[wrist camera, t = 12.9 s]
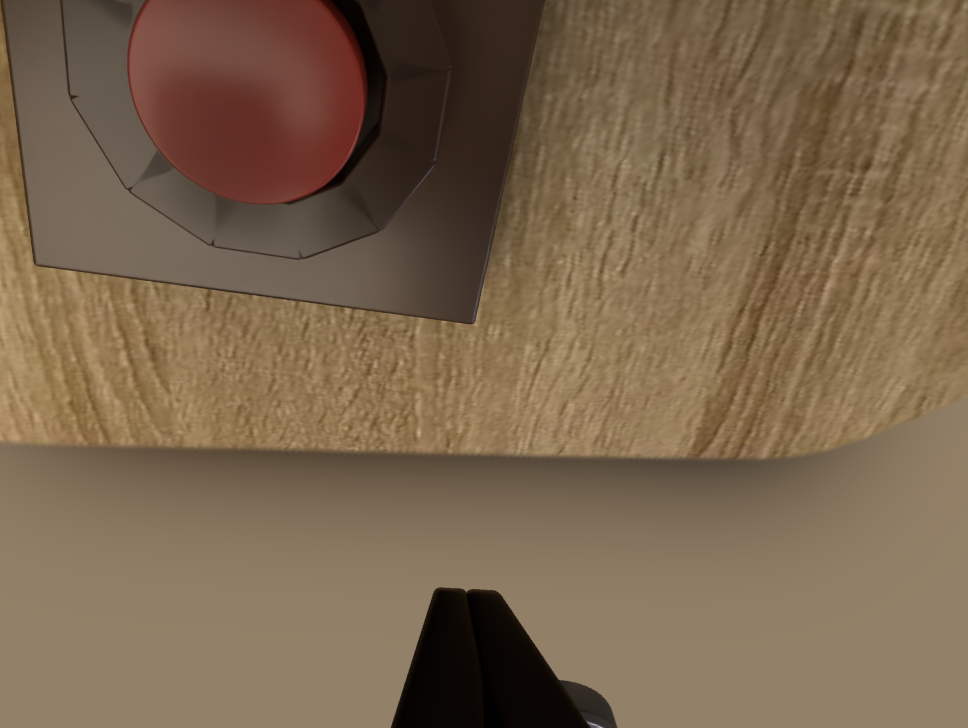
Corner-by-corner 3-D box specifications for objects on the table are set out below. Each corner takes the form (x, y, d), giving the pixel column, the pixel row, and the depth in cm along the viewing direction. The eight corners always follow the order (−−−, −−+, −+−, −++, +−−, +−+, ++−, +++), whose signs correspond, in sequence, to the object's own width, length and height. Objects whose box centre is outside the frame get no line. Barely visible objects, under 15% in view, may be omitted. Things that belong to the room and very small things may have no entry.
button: (379, -9, 11) (377, -9, 10) (356, 194, 13) (351, 221, 12) (158, -61, 11) (118, -69, 9) (163, 162, 12) (131, 185, 11)
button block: (556, -146, 14) (610, -192, 10) (466, 291, 18) (483, 361, 15) (24, -299, 12) (-130, -419, 8) (74, 235, 16) (-12, 300, 13)
